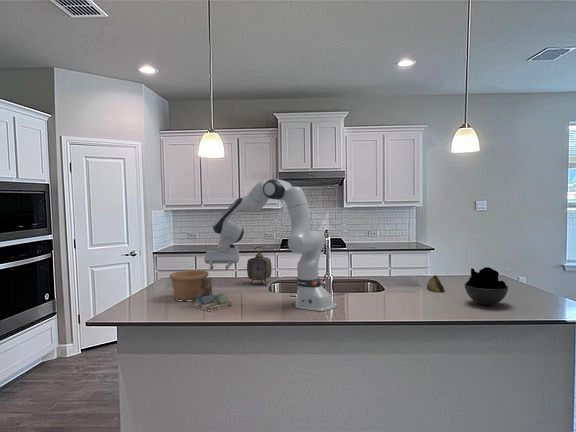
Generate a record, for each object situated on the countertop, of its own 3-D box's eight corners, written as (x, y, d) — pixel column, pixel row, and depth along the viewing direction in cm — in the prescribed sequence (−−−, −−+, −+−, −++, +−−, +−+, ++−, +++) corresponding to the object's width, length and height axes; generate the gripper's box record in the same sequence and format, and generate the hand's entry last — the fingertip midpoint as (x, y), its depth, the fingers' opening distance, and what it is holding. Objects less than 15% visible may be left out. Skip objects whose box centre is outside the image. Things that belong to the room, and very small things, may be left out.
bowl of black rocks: (508, 302, 210) (508, 266, 209) (507, 311, 193) (507, 273, 192) (467, 297, 220) (467, 263, 219) (462, 306, 203) (462, 269, 202)
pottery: (207, 301, 223) (206, 276, 223) (166, 303, 221) (165, 277, 220) (210, 292, 245) (210, 269, 244) (173, 294, 243) (173, 270, 242)
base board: (231, 305, 215) (231, 294, 214) (210, 311, 204) (209, 299, 204) (213, 300, 225) (213, 290, 225) (192, 306, 215) (191, 295, 215)
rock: (421, 284, 244) (426, 286, 234) (429, 273, 244) (434, 274, 234) (436, 295, 243) (442, 297, 233) (444, 284, 243) (450, 285, 233)
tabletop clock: (247, 284, 265) (246, 247, 264) (253, 281, 273) (252, 245, 272) (267, 286, 259) (266, 247, 258) (273, 283, 267) (272, 246, 266)
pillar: (211, 294, 216) (211, 277, 216) (208, 296, 212) (208, 279, 211) (204, 293, 217) (203, 277, 217) (200, 295, 213) (200, 279, 212)
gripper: (205, 246, 236) (199, 265, 227) (239, 245, 232) (234, 265, 223) (209, 252, 241) (203, 271, 231) (241, 252, 237) (237, 271, 228)
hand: (218, 268), depth 227 cm, fingers open, 8 cm apart
